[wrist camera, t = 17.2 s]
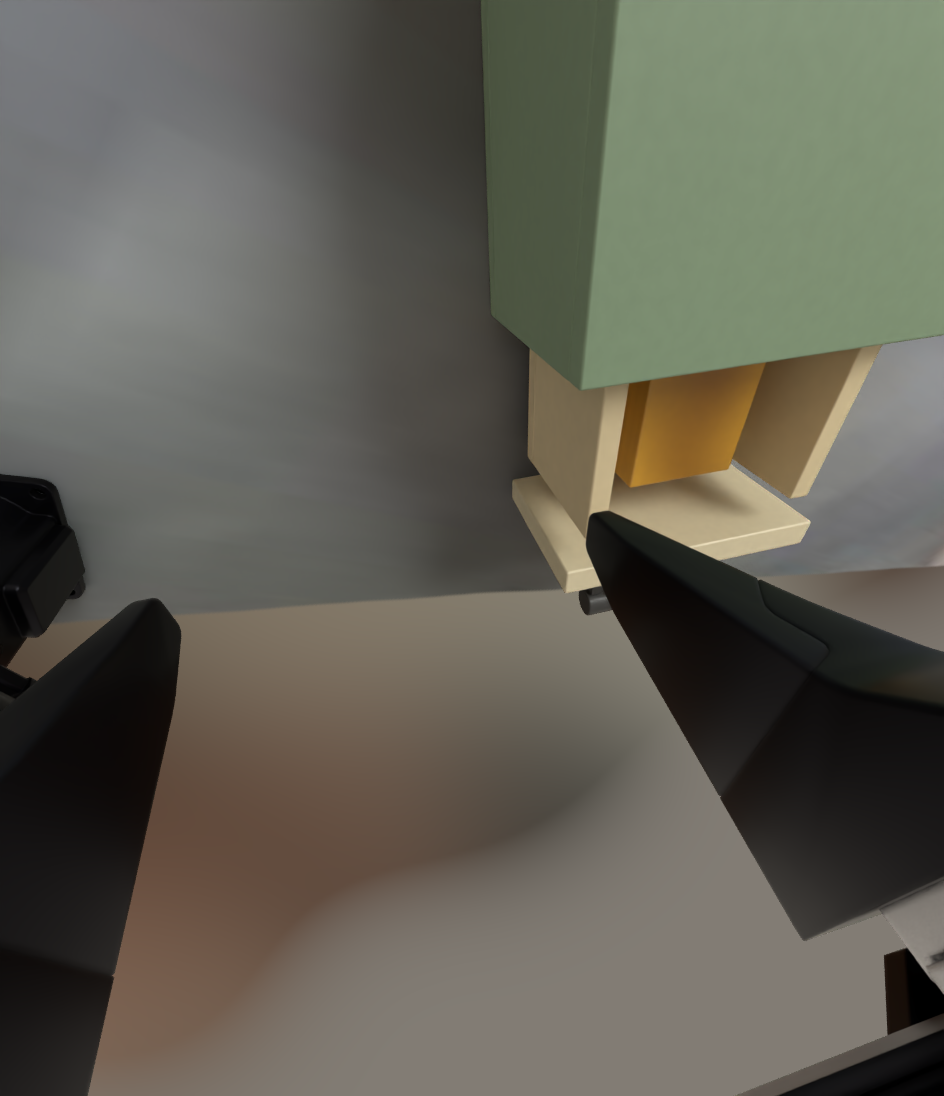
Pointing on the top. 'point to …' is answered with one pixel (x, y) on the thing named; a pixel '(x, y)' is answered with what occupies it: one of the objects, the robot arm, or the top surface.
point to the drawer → (687, 503)
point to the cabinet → (712, 180)
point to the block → (684, 424)
